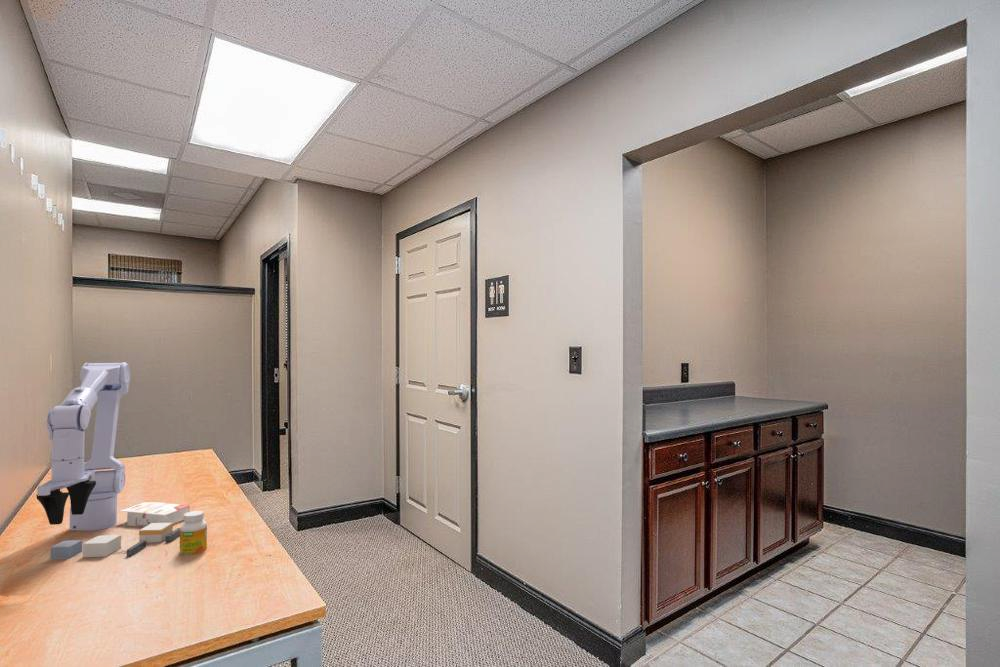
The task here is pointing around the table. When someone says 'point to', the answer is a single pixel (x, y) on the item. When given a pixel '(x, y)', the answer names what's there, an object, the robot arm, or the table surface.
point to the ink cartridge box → (155, 513)
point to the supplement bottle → (193, 533)
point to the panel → (142, 544)
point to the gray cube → (66, 549)
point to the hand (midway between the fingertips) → (67, 519)
